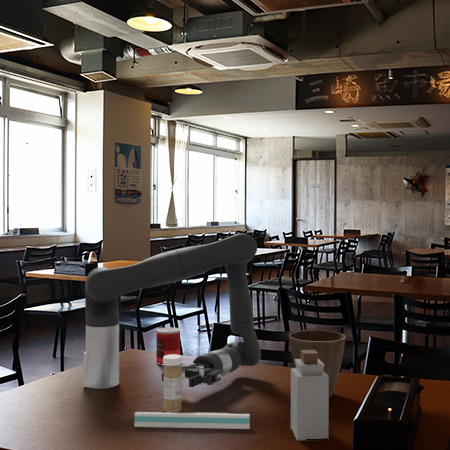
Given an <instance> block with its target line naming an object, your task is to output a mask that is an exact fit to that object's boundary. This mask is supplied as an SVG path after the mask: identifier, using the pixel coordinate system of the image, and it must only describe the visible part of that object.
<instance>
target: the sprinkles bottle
mask: <svg viewBox="0 0 450 450" xmlns="http://www.w3.org/2000/svg"><path fill="white" fill-rule="evenodd" d="M182 358H183V356H182V355H181V354H180V355H177V354H169V355H165V356H164V357H163V364H164V366H163V372H164V382H163V409H162V410H163V411H164V412H165V413H180V412H181V411H182V390H183V389H182V380H181V364H182V365H183V362H182V361H183V359H182Z"/></svg>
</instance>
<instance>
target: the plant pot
mask: <svg viewBox="0 0 450 450" xmlns="http://www.w3.org/2000/svg"><path fill="white" fill-rule="evenodd" d="M288 338H289V345H290V351H291V352H290V353H291V357H292V360H293V365H294V368H296V364H295V359H301V352H300V350H315V351H317V352H318V359H319V360H320V361H321V362H322V363H323V364H324V369H323V371H324V372H325V373H326V374H327V375H328V376H329V398H331V397H332V395H333V393H334V390H335V388H336V385H337V383H338V382H337V381H338V378H339V374H340V370H341V367H342V362H343V356H344V351H345V346H346V345H345V343H346V335H345V334H343V333H340V332H336V331H330V330H317V329H309V330H299V331H294V332H291V333H289V334H288Z"/></svg>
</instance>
